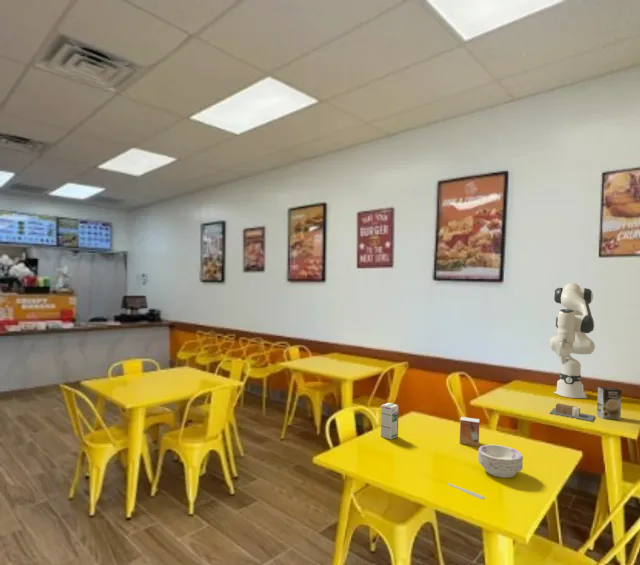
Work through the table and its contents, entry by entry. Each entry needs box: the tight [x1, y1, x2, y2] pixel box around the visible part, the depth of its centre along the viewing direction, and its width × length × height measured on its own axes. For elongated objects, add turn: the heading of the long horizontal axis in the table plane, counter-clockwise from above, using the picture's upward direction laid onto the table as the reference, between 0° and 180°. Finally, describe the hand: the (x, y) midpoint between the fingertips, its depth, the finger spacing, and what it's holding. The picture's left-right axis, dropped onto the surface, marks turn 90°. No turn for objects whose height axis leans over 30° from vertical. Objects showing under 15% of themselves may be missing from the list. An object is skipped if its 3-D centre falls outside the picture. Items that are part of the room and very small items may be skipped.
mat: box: [549, 407, 596, 423], centre depth 232 cm, size 12×20×1 cm, turn 51°
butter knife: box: [447, 483, 486, 500], centre depth 146 cm, size 1×27×3 cm
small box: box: [459, 416, 481, 447], centre depth 185 cm, size 8×6×10 cm
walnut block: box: [555, 403, 581, 417], centre depth 234 cm, size 5×4×11 cm
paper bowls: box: [477, 444, 524, 479], centre depth 156 cm, size 15×15×8 cm
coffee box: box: [596, 386, 623, 421], centre depth 230 cm, size 9×6×16 cm
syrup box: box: [380, 402, 399, 440], centre depth 190 cm, size 6×6×14 cm
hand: (565, 362), depth 235 cm, fingers open, 8 cm apart
